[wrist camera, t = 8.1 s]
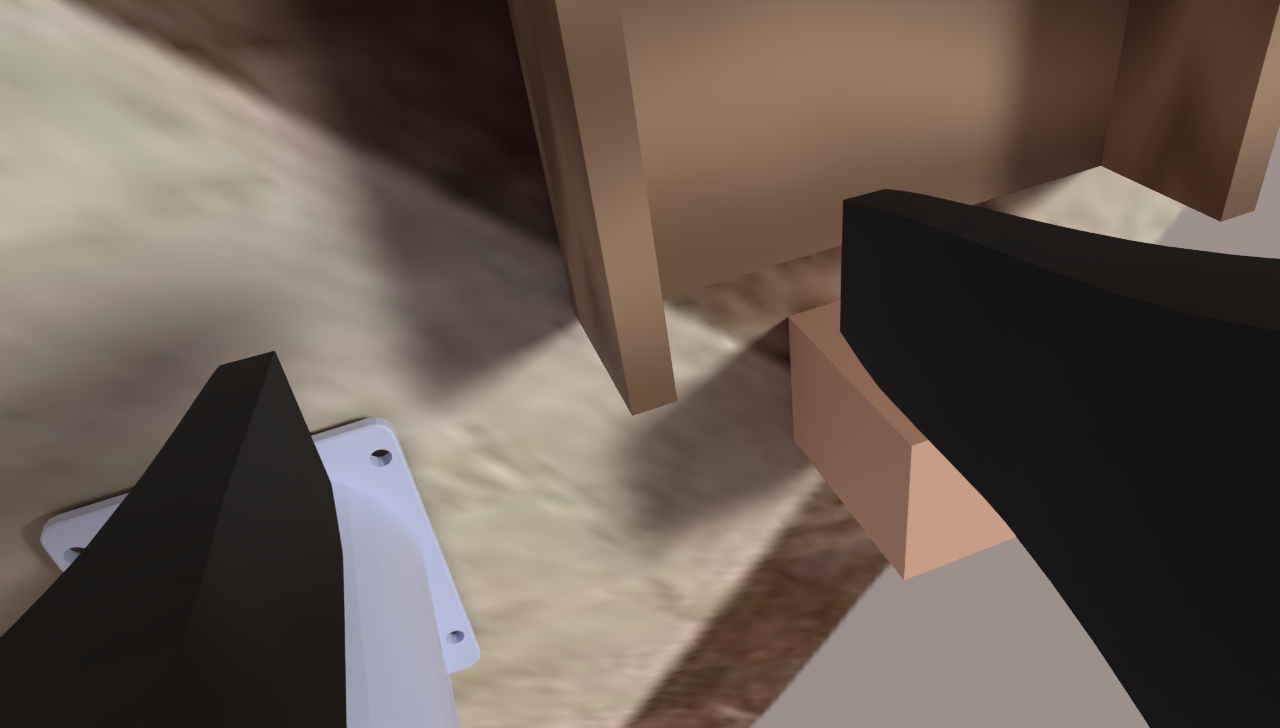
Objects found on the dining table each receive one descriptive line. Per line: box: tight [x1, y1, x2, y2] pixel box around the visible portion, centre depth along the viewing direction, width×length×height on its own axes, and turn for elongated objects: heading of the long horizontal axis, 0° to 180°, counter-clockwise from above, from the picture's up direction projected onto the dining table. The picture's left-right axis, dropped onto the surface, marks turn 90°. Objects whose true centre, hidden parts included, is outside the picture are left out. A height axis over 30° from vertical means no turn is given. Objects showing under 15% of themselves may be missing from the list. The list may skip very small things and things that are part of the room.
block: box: [788, 300, 1016, 580], centre depth 24 cm, size 4×4×6 cm
